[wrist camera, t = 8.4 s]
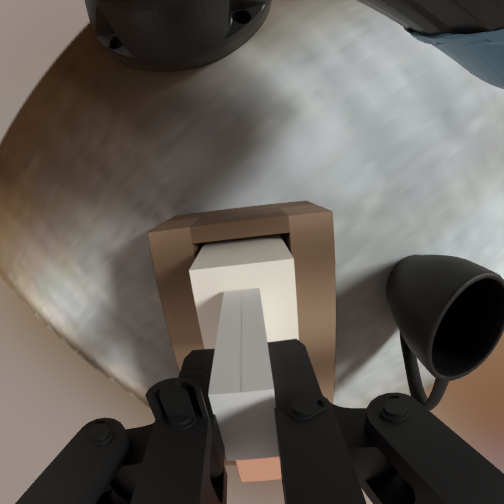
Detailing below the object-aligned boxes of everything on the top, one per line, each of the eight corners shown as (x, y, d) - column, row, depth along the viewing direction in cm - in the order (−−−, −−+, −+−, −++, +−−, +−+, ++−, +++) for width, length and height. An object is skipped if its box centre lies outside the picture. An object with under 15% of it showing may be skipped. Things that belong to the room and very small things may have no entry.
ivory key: (208, 237, 19) (188, 270, 12) (276, 229, 19) (293, 258, 12) (217, 300, 20) (206, 357, 14) (281, 293, 20) (299, 347, 14)
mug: (349, 356, 26) (385, 425, 17) (385, 232, 23) (454, 264, 14) (416, 357, 26) (461, 413, 17) (453, 247, 24) (522, 278, 14)
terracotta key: (235, 388, 23) (233, 451, 16) (287, 382, 23) (300, 444, 16) (241, 422, 24) (242, 482, 17) (289, 417, 24) (300, 476, 17)
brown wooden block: (175, 216, 22) (147, 232, 16) (306, 200, 22) (332, 211, 16) (216, 413, 27) (211, 465, 20) (314, 403, 27) (328, 453, 20)
